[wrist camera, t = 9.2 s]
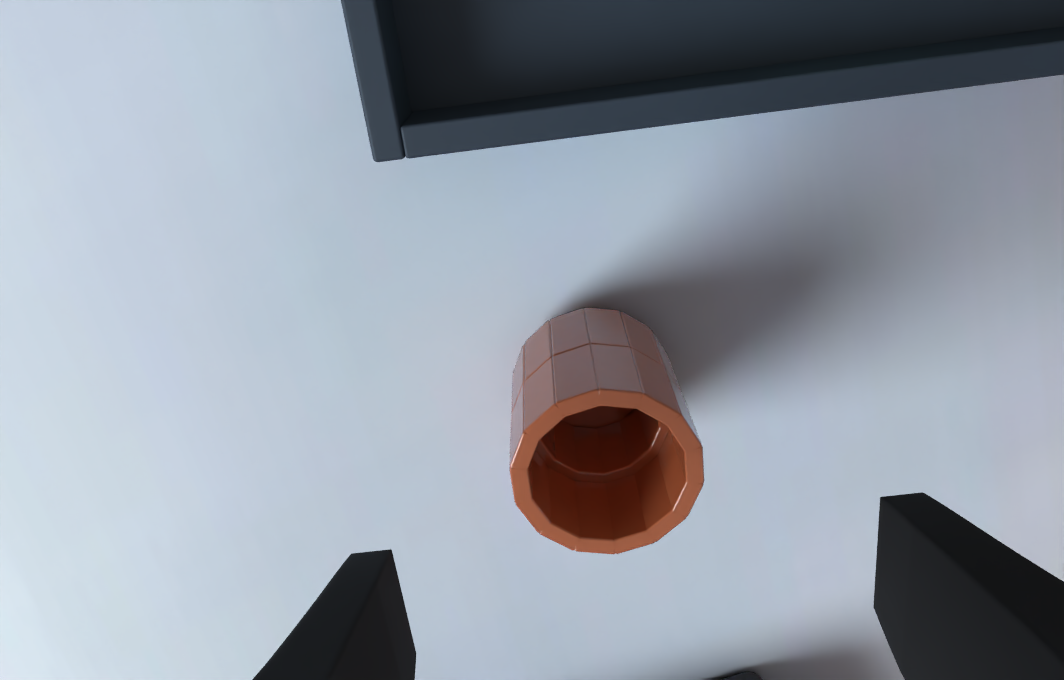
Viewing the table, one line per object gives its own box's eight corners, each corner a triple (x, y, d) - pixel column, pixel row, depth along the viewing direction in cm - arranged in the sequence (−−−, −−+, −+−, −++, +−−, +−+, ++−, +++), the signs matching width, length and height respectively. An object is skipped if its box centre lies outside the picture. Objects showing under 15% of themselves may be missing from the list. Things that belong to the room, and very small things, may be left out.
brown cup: (660, 289, 19) (699, 377, 14) (670, 428, 20) (707, 545, 16) (504, 308, 19) (498, 400, 15) (524, 445, 20) (524, 564, 16)
